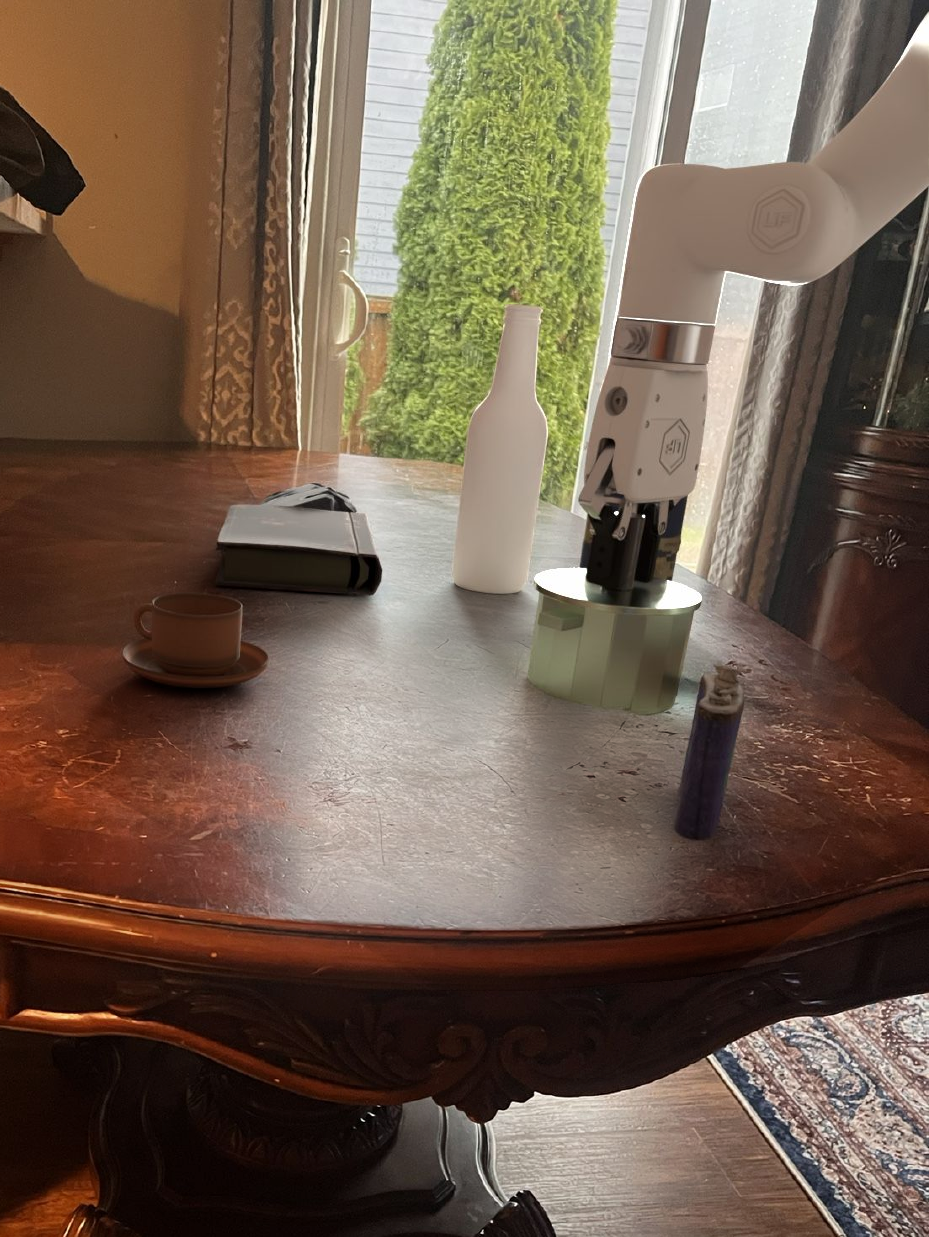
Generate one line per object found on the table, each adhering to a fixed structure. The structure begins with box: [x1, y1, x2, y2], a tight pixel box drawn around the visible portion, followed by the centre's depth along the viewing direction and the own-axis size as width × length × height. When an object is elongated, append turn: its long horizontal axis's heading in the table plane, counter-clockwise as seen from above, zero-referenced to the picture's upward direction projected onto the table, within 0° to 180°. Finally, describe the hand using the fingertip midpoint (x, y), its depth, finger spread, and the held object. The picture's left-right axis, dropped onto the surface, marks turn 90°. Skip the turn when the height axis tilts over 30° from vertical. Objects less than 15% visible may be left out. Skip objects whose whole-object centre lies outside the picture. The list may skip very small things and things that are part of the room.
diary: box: [214, 504, 383, 596], centre depth 136 cm, size 19×25×5 cm
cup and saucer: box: [122, 592, 270, 689], centre depth 96 cm, size 12×12×6 cm
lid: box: [533, 512, 703, 616], centre depth 97 cm, size 14×14×7 cm
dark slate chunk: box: [260, 482, 358, 513], centre depth 166 cm, size 15×22×5 cm
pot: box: [526, 592, 695, 716], centre depth 100 cm, size 13×18×8 cm
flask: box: [674, 662, 748, 842], centre depth 75 cm, size 9×3×11 cm, turn 162°
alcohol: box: [450, 303, 549, 595], centre depth 130 cm, size 9×9×30 cm
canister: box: [578, 493, 689, 582], centre depth 118 cm, size 10×10×18 cm
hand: (619, 580), depth 98 cm, fingers open, 3 cm apart
